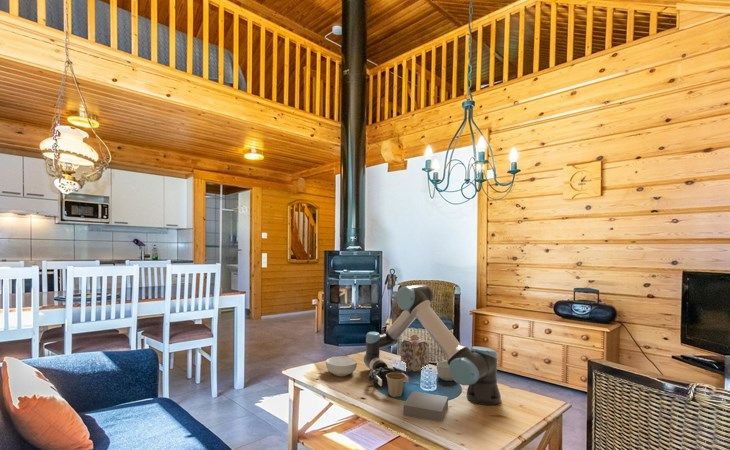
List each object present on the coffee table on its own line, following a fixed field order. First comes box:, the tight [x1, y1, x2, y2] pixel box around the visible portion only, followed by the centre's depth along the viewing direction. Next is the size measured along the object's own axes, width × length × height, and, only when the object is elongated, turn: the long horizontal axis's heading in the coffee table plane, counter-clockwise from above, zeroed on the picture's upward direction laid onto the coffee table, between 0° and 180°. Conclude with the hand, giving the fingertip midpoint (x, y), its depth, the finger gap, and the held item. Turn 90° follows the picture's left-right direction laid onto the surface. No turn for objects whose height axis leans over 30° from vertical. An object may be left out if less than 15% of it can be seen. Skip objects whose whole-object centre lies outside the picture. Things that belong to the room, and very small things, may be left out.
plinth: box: [402, 390, 449, 423], centre depth 164 cm, size 16×16×4 cm
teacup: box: [436, 359, 454, 382], centre depth 203 cm, size 14×11×8 cm
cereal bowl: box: [325, 355, 358, 377], centre depth 207 cm, size 17×17×7 cm
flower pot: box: [385, 373, 406, 398], centre depth 180 cm, size 9×9×9 cm
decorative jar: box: [400, 334, 430, 372], centre depth 220 cm, size 12×12×18 cm
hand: (394, 381), depth 180 cm, fingers open, 13 cm apart
